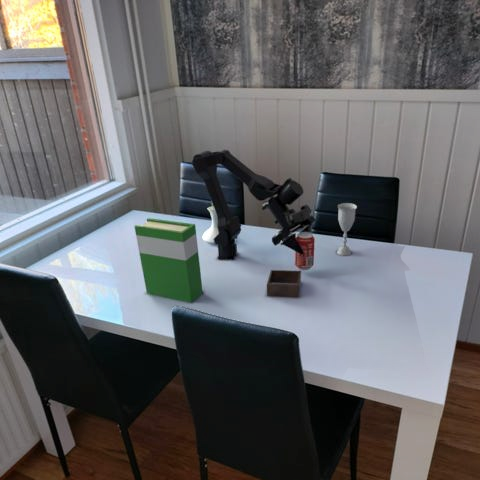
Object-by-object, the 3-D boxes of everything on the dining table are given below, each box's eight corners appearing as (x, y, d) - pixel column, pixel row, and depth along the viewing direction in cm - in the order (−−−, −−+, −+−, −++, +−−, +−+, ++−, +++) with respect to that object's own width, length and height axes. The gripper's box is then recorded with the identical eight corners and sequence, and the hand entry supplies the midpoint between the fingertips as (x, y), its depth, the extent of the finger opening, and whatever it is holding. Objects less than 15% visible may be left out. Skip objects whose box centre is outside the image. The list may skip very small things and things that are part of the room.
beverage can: (310, 262, 165) (311, 230, 158) (315, 270, 160) (317, 237, 153) (293, 264, 164) (293, 232, 158) (297, 272, 159) (298, 239, 153)
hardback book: (146, 293, 158) (134, 226, 145) (159, 283, 164) (148, 218, 151) (191, 302, 151) (182, 232, 138) (202, 292, 157) (195, 224, 144)
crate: (267, 296, 152) (266, 283, 150) (271, 281, 161) (270, 269, 158) (298, 297, 150) (298, 285, 148) (300, 282, 159) (301, 270, 156)
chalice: (332, 249, 180) (335, 203, 170) (350, 248, 180) (353, 202, 171) (337, 257, 174) (340, 210, 164) (355, 255, 174) (359, 208, 164)
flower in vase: (229, 245, 189) (225, 183, 176) (201, 246, 190) (195, 184, 176) (230, 233, 200) (226, 174, 187) (204, 234, 201) (198, 175, 187)
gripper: (278, 207, 146) (307, 248, 146) (311, 191, 157) (338, 229, 157) (259, 226, 154) (286, 264, 154) (292, 209, 166) (317, 245, 166)
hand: (308, 250), depth 158 cm, fingers closed on beverage can, 6 cm apart
